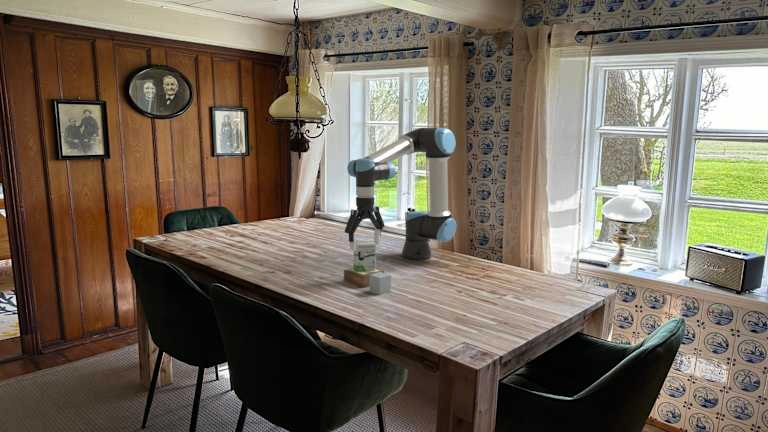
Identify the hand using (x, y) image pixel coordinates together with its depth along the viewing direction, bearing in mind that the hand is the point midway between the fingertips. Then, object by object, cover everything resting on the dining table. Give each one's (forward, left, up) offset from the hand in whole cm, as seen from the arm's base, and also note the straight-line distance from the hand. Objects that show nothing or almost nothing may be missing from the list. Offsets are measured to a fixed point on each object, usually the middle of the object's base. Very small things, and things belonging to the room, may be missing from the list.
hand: (365, 246), depth 223 cm
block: (+4, +14, -15) cm, 21 cm away
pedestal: (0, 0, -15) cm, 15 cm away
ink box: (0, 0, -10) cm, 10 cm away
